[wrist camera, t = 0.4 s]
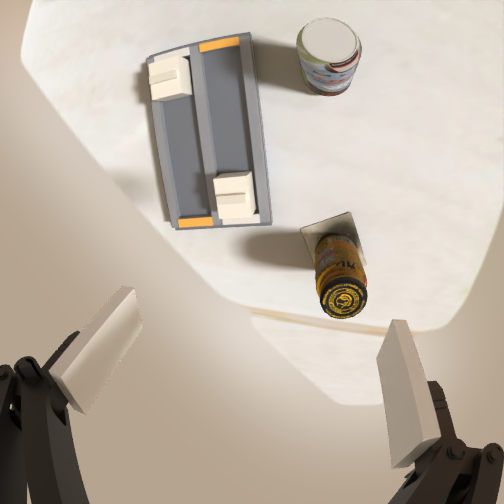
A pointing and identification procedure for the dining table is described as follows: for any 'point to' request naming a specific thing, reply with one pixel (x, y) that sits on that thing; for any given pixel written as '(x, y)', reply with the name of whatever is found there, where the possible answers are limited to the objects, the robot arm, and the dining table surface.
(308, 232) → the condiment
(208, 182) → the switch bank
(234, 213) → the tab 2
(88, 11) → the dining table surface
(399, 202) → the dining table surface
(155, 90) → the tab
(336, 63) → the beverage can
